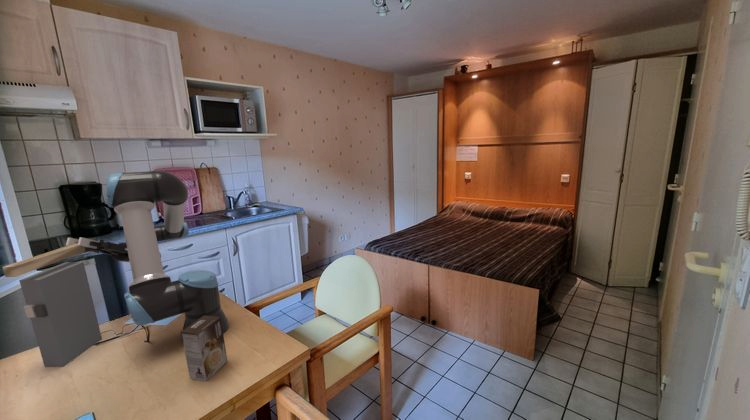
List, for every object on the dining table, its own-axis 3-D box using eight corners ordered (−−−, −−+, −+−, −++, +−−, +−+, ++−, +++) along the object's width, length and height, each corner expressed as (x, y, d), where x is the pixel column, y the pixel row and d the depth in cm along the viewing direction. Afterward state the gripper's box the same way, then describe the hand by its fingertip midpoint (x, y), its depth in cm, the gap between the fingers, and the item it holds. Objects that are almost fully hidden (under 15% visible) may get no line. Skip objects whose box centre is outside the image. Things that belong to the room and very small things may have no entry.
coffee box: (211, 358, 100) (204, 314, 97) (228, 360, 99) (221, 316, 95) (188, 378, 91) (180, 331, 88) (206, 382, 90) (199, 334, 86)
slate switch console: (102, 339, 111) (83, 261, 104) (59, 369, 96) (35, 281, 90) (85, 339, 111) (66, 262, 104) (41, 369, 96) (15, 281, 90)
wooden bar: (99, 247, 112) (97, 238, 111) (16, 277, 86) (13, 266, 86) (89, 247, 112) (87, 238, 111) (4, 277, 86) (1, 266, 86)
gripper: (145, 261, 125) (94, 251, 103) (106, 262, 126) (46, 252, 103) (149, 243, 128) (100, 230, 105) (110, 244, 128) (53, 231, 106)
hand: (73, 241), depth 104 cm, fingers closed on wooden bar, 3 cm apart
